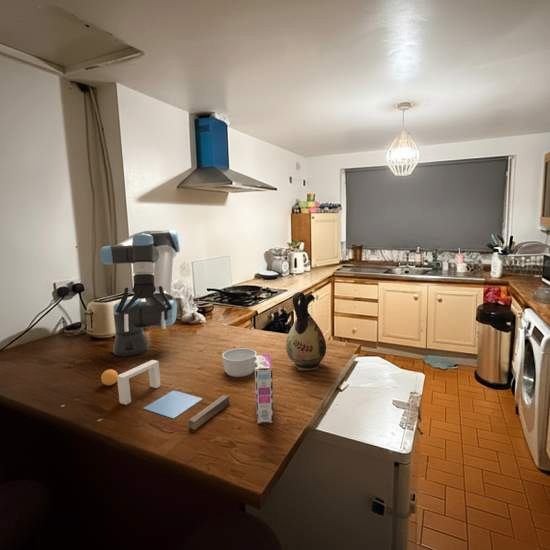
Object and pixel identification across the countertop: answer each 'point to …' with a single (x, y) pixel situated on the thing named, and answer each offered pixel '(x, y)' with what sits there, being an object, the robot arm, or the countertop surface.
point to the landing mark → (173, 404)
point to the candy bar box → (263, 389)
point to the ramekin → (239, 362)
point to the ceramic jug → (305, 336)
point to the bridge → (124, 377)
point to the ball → (109, 377)
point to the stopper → (208, 412)
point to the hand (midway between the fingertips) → (145, 330)
